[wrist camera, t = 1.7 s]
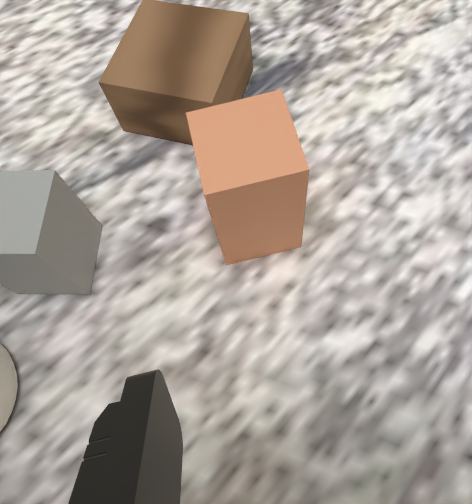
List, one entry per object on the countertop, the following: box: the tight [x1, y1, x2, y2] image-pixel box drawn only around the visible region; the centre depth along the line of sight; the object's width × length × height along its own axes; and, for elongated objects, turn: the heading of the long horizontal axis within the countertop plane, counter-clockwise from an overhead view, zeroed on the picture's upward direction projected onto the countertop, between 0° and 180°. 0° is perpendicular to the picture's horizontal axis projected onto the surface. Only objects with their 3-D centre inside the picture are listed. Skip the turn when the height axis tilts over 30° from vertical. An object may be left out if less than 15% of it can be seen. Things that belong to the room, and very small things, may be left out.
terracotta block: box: [186, 90, 309, 265], centre depth 25 cm, size 5×5×9 cm
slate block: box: [0, 170, 102, 295], centre depth 27 cm, size 5×5×7 cm
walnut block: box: [99, 0, 253, 145], centre depth 32 cm, size 8×8×5 cm
